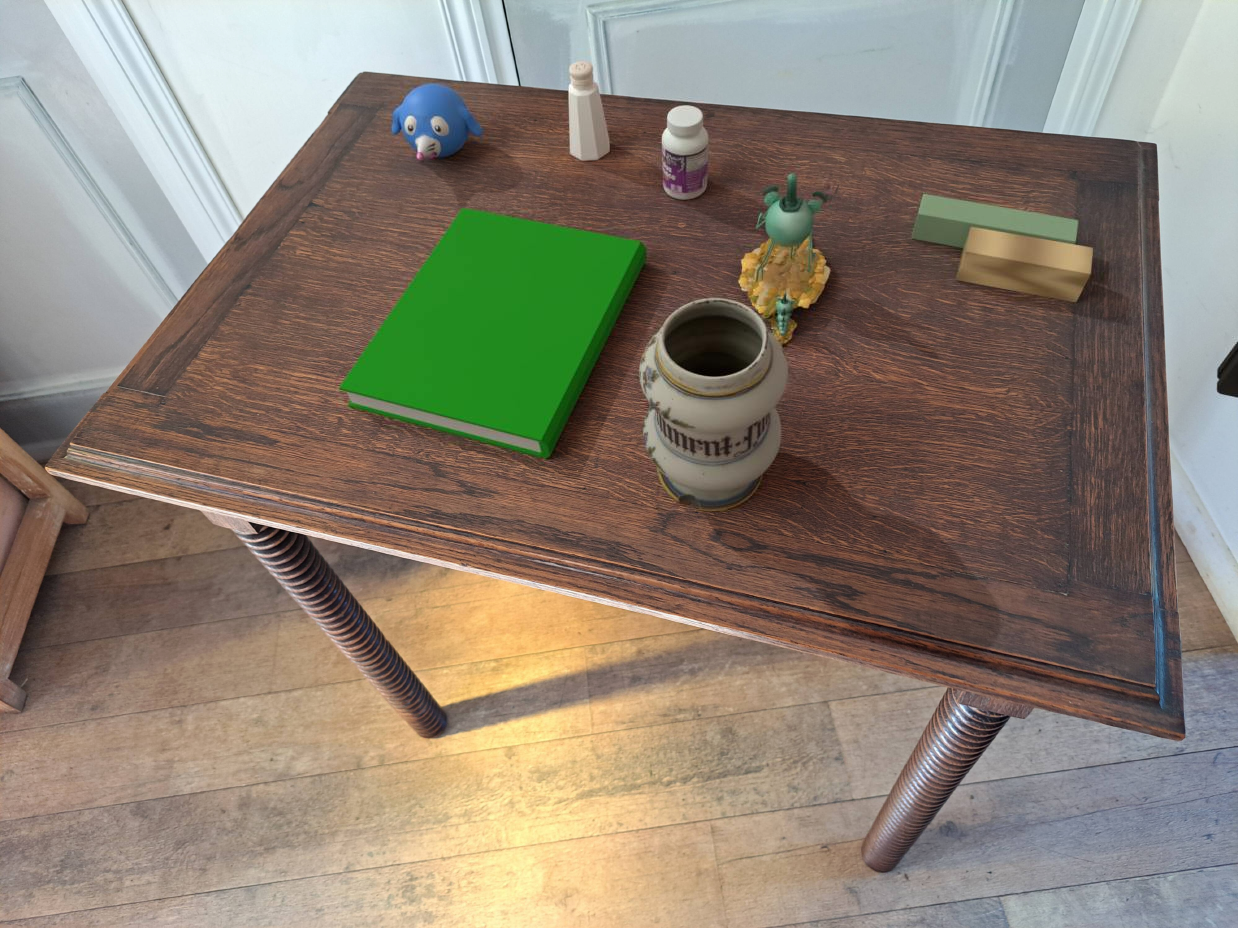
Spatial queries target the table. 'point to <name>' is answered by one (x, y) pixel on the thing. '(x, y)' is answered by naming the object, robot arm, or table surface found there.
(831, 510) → the table surface
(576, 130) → the salt shaker
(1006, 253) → the brass block
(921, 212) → the green bar
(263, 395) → the table surface
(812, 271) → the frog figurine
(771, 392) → the apothecary jar
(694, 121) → the pill bottle
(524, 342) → the book
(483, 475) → the table surface
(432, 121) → the blue mole toy
